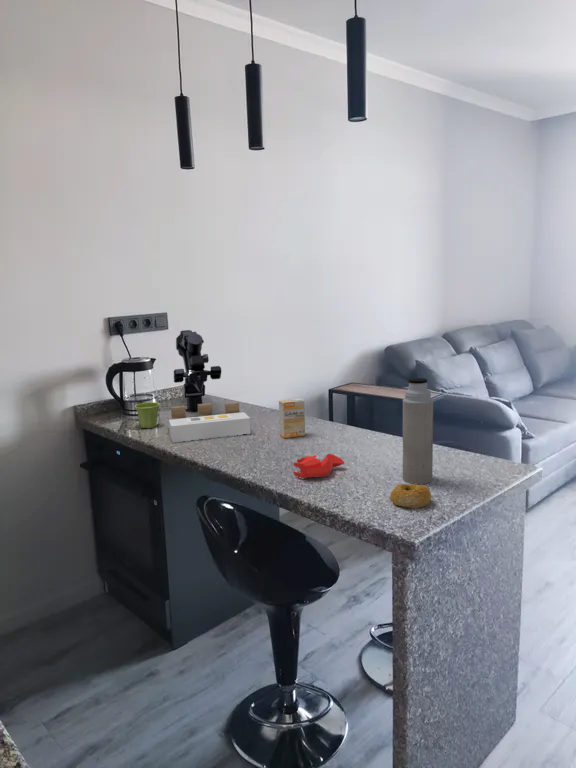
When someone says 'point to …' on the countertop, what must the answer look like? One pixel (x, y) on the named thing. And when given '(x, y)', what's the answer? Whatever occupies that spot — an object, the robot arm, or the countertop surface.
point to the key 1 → (178, 412)
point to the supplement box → (292, 418)
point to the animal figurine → (317, 466)
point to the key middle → (204, 409)
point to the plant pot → (148, 414)
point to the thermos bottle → (417, 432)
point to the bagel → (410, 495)
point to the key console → (209, 427)
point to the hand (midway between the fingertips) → (200, 391)
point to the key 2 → (232, 408)
